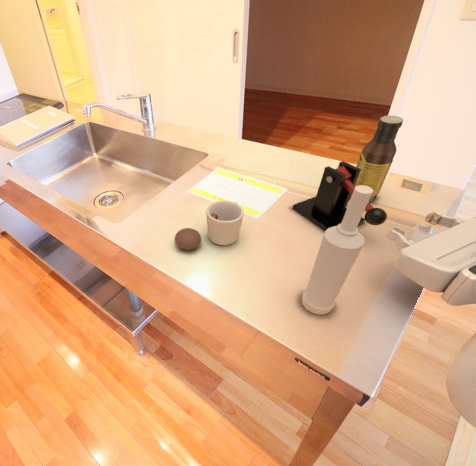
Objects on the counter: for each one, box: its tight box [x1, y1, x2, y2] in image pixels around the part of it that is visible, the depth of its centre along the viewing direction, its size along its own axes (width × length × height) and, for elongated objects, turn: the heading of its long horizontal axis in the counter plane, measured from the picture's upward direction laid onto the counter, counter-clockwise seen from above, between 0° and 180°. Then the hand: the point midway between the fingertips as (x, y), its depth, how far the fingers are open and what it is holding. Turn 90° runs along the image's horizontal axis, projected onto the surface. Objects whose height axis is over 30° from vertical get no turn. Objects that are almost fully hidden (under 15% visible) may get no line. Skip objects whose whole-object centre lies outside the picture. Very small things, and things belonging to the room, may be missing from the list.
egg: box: [174, 227, 202, 251], centre depth 73 cm, size 6×6×4 cm
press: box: [292, 160, 366, 232], centre depth 72 cm, size 12×9×13 cm
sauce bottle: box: [350, 115, 404, 203], centre depth 73 cm, size 6×6×20 cm
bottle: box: [301, 185, 373, 316], centre depth 50 cm, size 5×5×25 cm
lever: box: [334, 166, 388, 226], centre depth 67 cm, size 14×4×4 cm, turn 21°
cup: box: [205, 200, 245, 246], centre depth 73 cm, size 11×8×8 cm
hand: (409, 223), depth 59 cm, fingers open, 8 cm apart
